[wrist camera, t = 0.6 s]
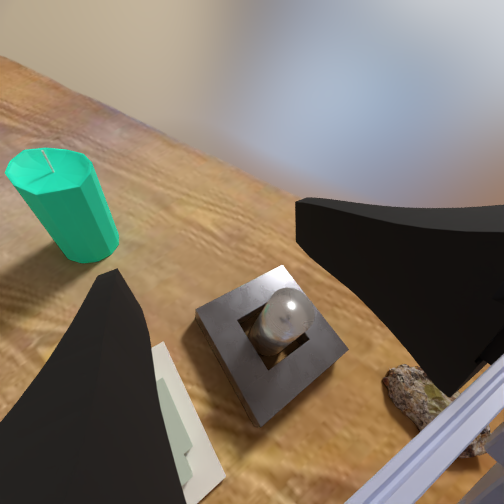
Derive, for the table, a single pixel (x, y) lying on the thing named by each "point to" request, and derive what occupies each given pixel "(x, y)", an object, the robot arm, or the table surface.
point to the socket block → (246, 358)
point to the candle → (66, 201)
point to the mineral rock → (425, 402)
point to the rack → (185, 431)
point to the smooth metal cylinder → (281, 321)
